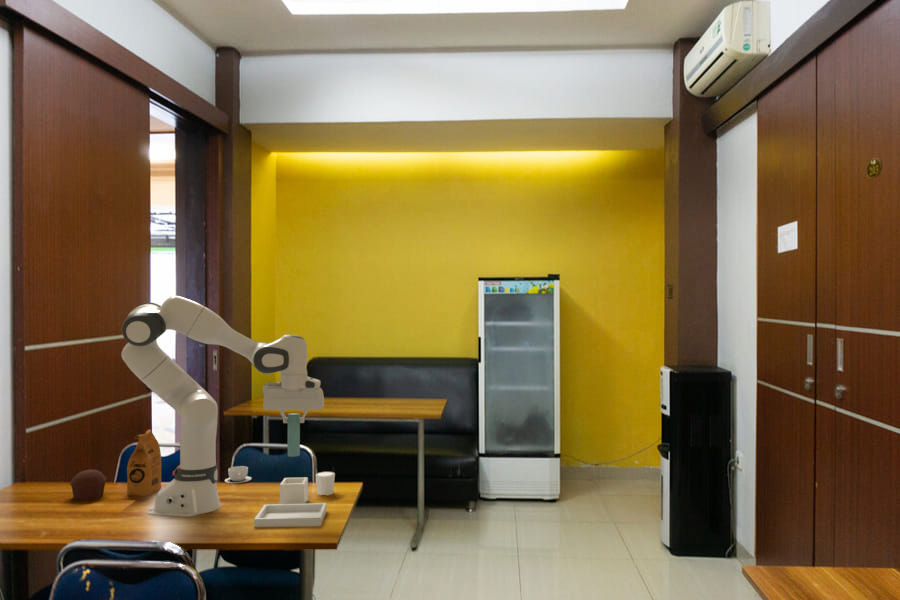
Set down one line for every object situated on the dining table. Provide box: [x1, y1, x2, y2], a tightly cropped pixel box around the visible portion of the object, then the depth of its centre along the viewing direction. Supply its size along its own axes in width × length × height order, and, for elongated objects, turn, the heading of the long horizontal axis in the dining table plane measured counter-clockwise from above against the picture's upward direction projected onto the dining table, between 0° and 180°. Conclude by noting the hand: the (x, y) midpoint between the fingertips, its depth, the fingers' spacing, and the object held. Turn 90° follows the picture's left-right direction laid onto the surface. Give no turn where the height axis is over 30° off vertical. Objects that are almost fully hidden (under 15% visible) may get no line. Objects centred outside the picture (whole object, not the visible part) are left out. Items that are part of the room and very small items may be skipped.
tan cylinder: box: [315, 471, 336, 496], centre depth 229 cm, size 7×7×7 cm
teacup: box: [224, 465, 253, 484], centre depth 246 cm, size 10×10×5 cm
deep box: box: [279, 476, 309, 504], centre depth 216 cm, size 8×8×8 cm
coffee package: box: [126, 429, 162, 497], centre depth 230 cm, size 10×12×22 cm
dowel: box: [287, 413, 301, 458], centre depth 216 cm, size 4×4×14 cm
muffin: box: [69, 469, 108, 501], centre depth 222 cm, size 12×11×10 cm
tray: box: [253, 502, 327, 528], centre depth 201 cm, size 20×14×3 cm
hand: (293, 422), depth 216 cm, fingers closed on dowel, 4 cm apart
